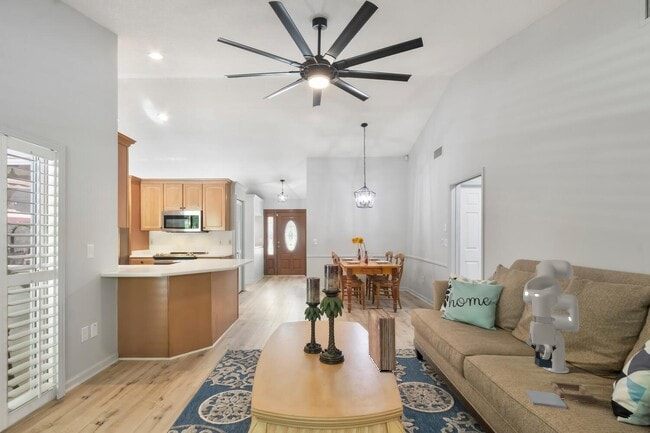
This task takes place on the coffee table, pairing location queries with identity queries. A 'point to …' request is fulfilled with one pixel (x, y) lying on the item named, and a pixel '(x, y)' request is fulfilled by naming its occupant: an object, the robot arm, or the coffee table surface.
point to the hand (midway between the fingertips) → (543, 359)
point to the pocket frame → (586, 395)
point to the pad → (545, 399)
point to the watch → (544, 357)
